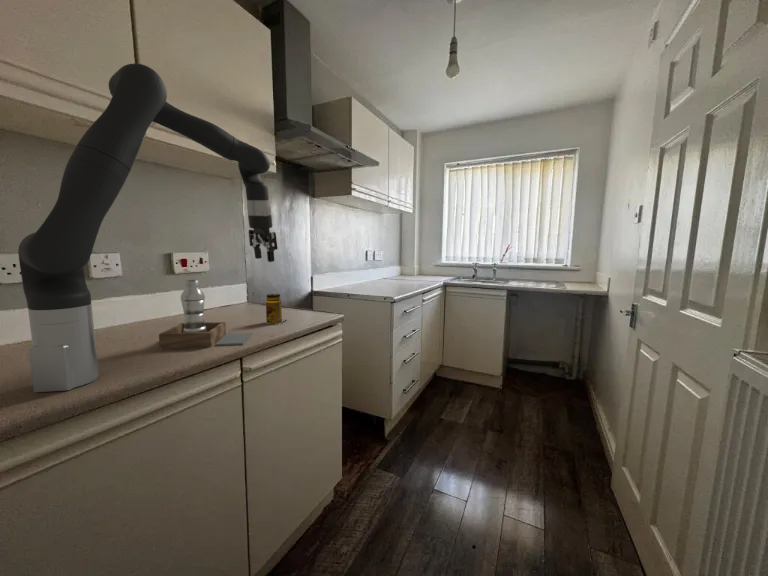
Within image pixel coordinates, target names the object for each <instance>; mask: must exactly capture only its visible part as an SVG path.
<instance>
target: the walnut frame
mask: <svg viewBox="0 0 768 576" xmlns="http://www.w3.org/2000/svg"><path fill="white" fill-rule="evenodd" d="M205 326H206V329H207V332H192V333H183V330H184V322H180V323H178V324H177V325H174V326H173V327H169V329H166V330H164V331H162V332H160V333H159V334H158V339H159V349H160V350H169V349H189V348H190V349H191V348H193V349H195V348H196V349H197V348H212V347H213V346H214V345H216V343H217V342H219V341H220V340H221V339H222V338H223V337H225V336H226V335H227V330H226V329H227V325H226V321H217V322H213V321H211V322H209V321H208V322H206V321H205Z"/></svg>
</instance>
